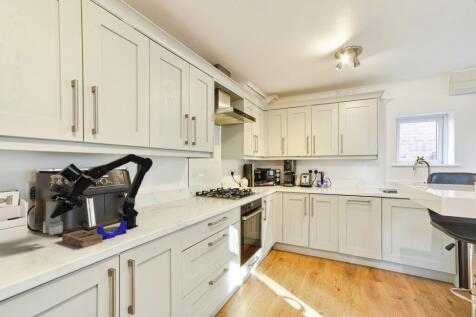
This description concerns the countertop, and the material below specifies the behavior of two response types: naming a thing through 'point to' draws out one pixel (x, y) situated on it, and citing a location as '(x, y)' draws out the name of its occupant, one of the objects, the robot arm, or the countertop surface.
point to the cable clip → (118, 231)
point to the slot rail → (82, 238)
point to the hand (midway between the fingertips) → (49, 217)
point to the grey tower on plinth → (52, 224)
